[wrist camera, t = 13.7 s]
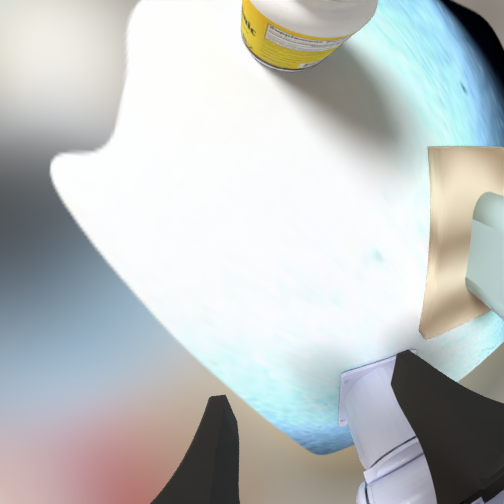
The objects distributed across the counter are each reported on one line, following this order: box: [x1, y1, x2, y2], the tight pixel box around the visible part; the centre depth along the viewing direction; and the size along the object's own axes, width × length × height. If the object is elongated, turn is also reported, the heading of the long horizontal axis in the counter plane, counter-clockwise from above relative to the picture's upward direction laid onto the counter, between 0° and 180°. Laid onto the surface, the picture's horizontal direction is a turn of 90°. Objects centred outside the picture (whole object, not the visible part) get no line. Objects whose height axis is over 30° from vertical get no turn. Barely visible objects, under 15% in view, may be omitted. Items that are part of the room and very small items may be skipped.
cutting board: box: [419, 146, 504, 340], centre depth 18 cm, size 16×11×2 cm
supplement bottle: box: [241, 0, 378, 72], centre depth 8 cm, size 5×5×10 cm
